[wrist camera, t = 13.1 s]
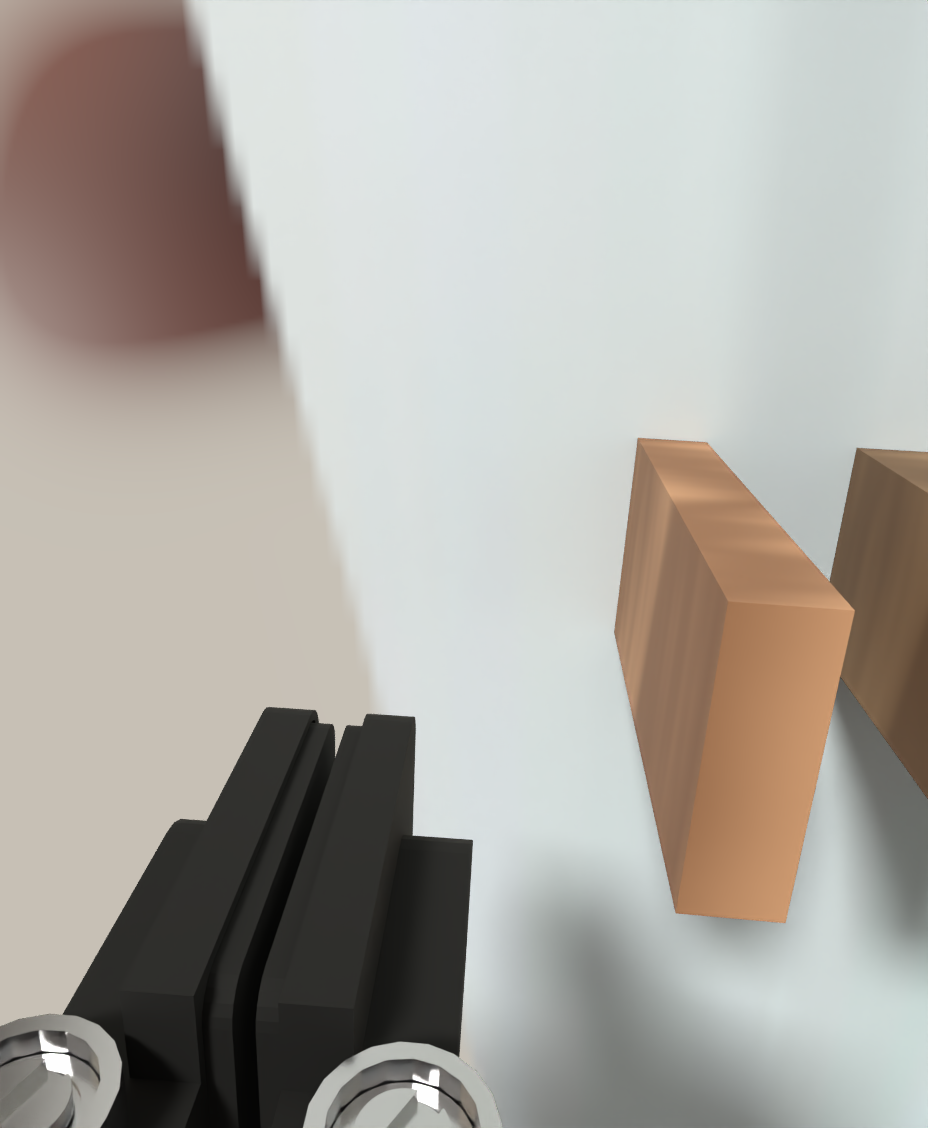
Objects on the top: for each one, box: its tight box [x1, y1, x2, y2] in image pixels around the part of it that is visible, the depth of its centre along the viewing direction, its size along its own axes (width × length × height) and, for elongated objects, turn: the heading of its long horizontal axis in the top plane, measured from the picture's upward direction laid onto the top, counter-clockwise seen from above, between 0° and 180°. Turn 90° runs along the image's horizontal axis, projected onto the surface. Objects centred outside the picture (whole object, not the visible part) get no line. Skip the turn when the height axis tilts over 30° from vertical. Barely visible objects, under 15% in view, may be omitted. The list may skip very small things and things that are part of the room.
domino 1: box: [614, 438, 855, 923], centre depth 17 cm, size 2×5×10 cm, turn 177°
